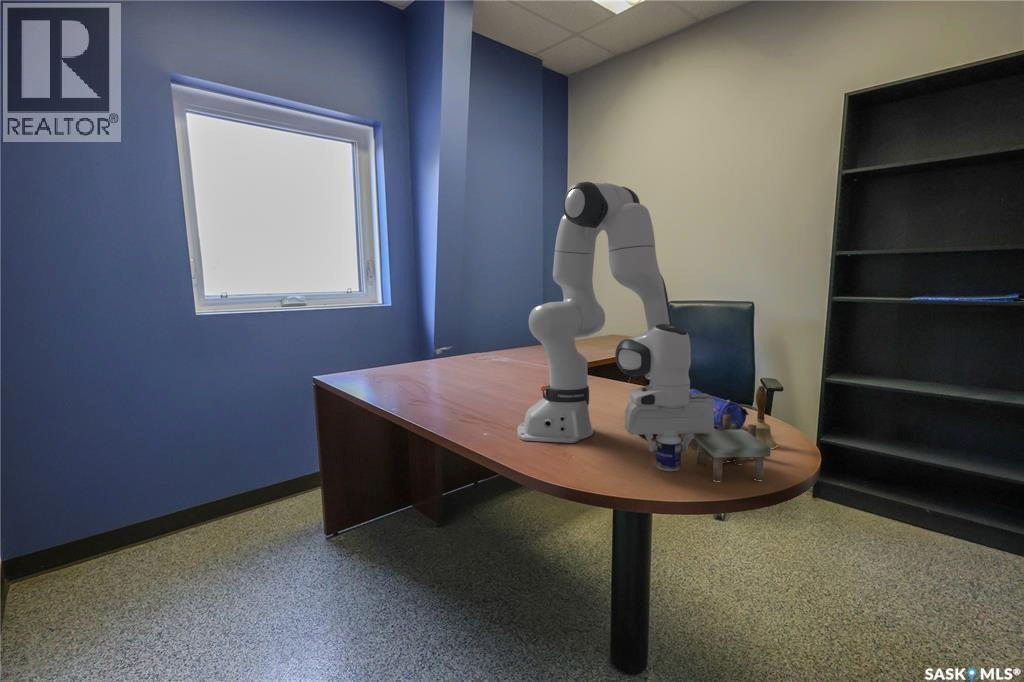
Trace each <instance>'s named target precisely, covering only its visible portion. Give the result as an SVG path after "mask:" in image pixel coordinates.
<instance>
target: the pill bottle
mask: <svg viewBox="0 0 1024 682" xmlns="http://www.w3.org/2000/svg"><path fill="white" fill-rule="evenodd" d="M681 442H682V439H681V437H680V435H679V434H678V430H665V432H664V434H656V437H655V443H656V444H657V452H655V462H654V463H655V467H656V468H657V469H659V470H661V471H664V472H676V471H679V470H680V468H681V465H682V463H681V462H682V461H681V460H682V459H681V458H682V451H681Z"/></svg>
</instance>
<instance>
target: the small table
mask: <svg viewBox="0 0 1024 682" xmlns="http://www.w3.org/2000/svg"><path fill="white" fill-rule="evenodd" d="M693 438H694V439H695V440H696V441H697V442H698V452H697V455H696V457H697V459H696V460H697V462H696V465H698V464H699V465H698V466H701V465H704V466H706V450H707V451H708V452H709V453H710V454H711V455H712V456H713V457H714V458H713V460H712V462H713V463H712V481H713V480H715V481H721V480H722V479H723V478H722V477H723V463H722V458H723V457H735V461H734V464H735V463H736V464H735V465H737V464H743V465H744V460H743V457H755V459H754V463H753V480H754V479H756V480H763V481H764V467H765V466H764V463H765V457H767V458H770V457H771V450H770V449H771V448H770V447H769V446H767V445H766V444H764V443H763V442H761V441H760V440H758V439H757V438H755V437H754V436H752V435H751V434H749V433H748V431H746V430H745V429H739V430H717V429H714V430H713V431H712V432H711V433H697V434H693ZM722 481H723V480H722Z"/></svg>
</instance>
